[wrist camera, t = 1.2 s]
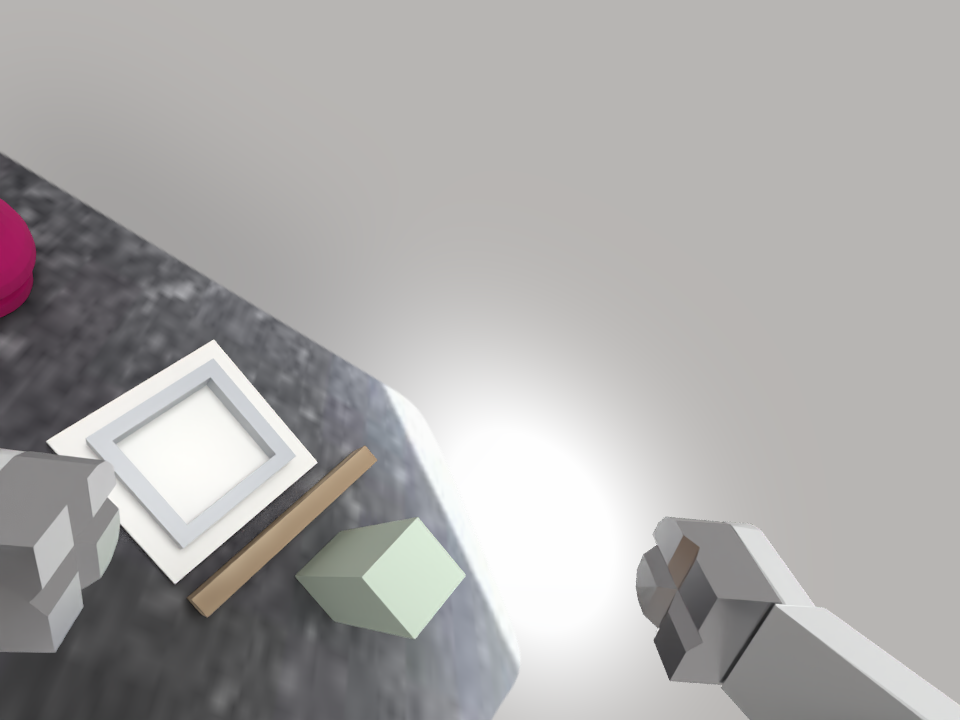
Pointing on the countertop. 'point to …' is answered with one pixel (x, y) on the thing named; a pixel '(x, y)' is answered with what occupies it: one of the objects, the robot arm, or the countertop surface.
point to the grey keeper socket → (189, 457)
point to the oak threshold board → (279, 533)
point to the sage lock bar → (382, 577)
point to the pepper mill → (14, 259)
